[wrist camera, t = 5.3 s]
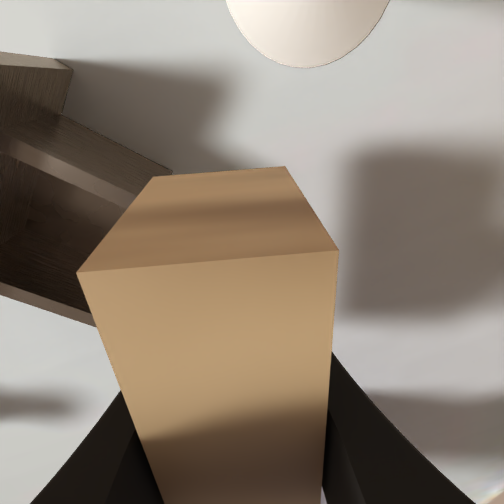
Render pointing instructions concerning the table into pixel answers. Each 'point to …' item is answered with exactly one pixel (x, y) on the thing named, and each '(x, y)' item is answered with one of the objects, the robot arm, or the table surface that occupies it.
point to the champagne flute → (305, 27)
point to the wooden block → (221, 333)
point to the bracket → (55, 187)
